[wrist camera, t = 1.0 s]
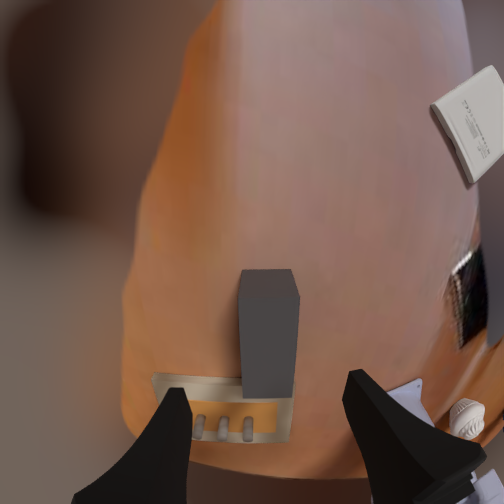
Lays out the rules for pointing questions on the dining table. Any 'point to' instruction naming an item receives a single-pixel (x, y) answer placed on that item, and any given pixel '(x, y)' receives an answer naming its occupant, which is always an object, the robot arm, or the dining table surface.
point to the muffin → (466, 418)
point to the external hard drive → (475, 121)
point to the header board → (229, 410)
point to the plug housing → (268, 332)
